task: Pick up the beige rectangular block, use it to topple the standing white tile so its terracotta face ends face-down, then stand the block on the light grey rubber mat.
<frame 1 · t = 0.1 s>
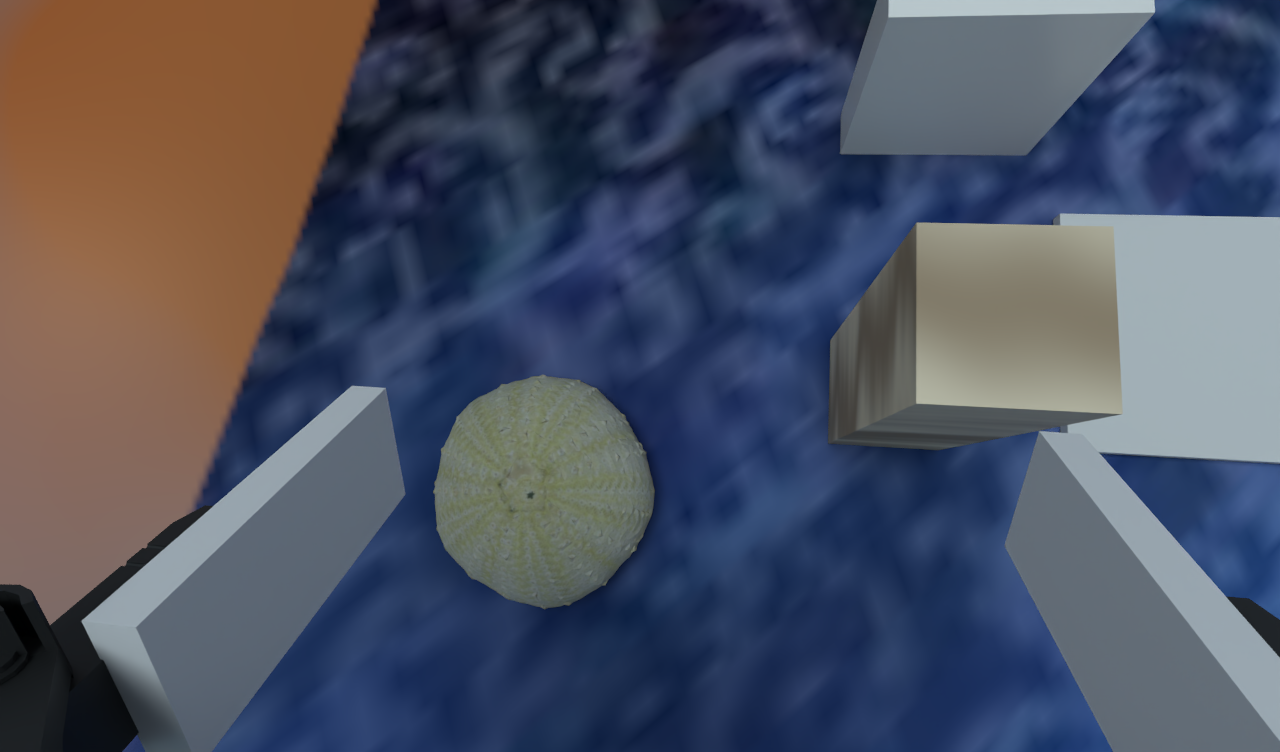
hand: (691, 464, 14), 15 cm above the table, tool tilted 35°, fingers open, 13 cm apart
beige rectangular block: (883, 393, 29), on the table
sea urchin shell: (555, 489, 30), on the table
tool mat: (1187, 336, 28), on the table
tile: (931, 134, 30), on the table
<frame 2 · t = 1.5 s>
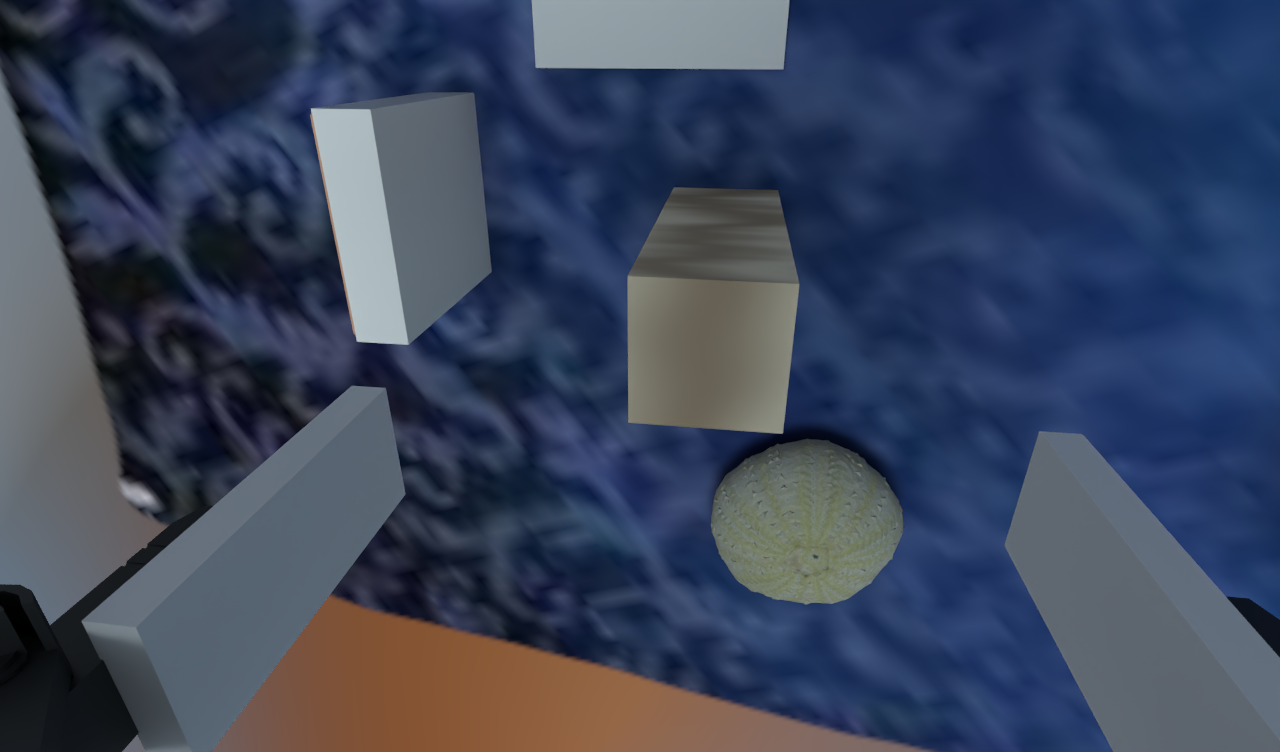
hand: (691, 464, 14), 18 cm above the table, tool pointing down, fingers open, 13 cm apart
beige rectangular block: (722, 239, 30), on the table
sea urchin shell: (801, 498, 36), on the table
tile: (462, 186, 31), on the table
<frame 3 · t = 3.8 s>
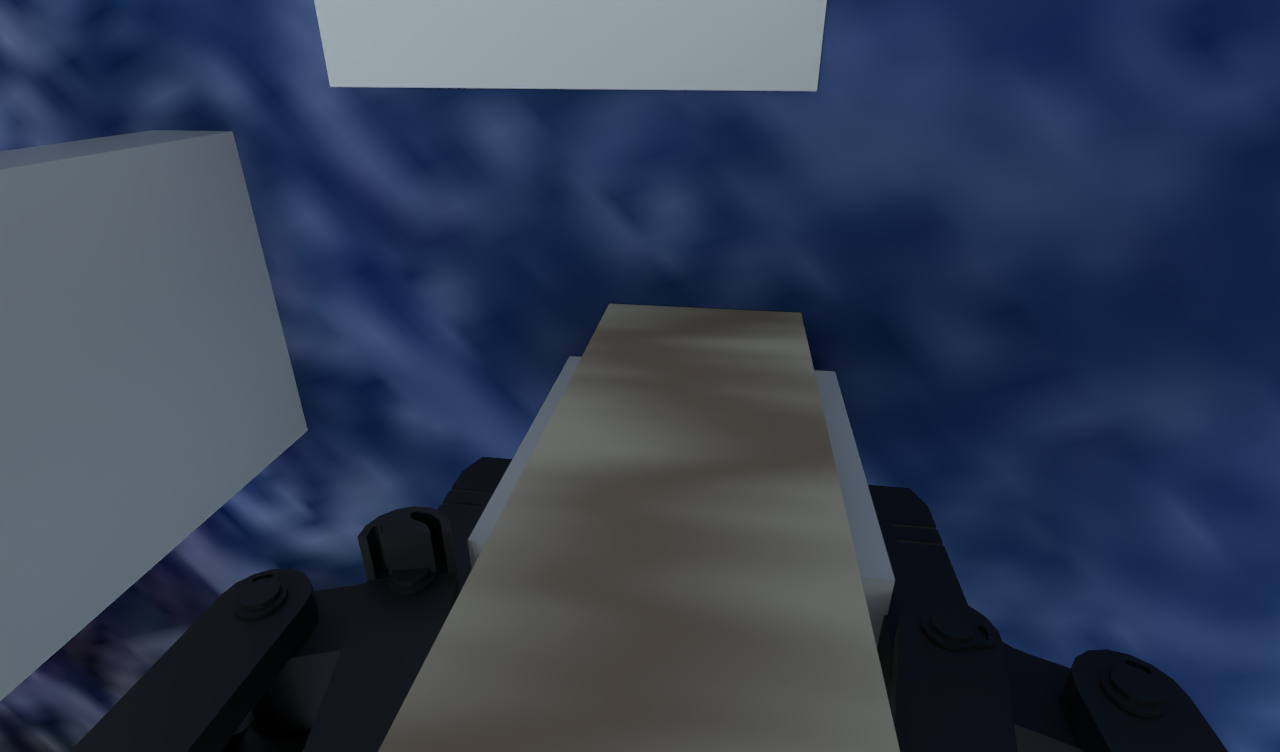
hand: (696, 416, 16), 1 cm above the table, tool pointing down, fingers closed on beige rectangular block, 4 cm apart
beige rectangular block: (699, 392, 17), on the table, touching gripper
tile: (238, 294, 17), on the table
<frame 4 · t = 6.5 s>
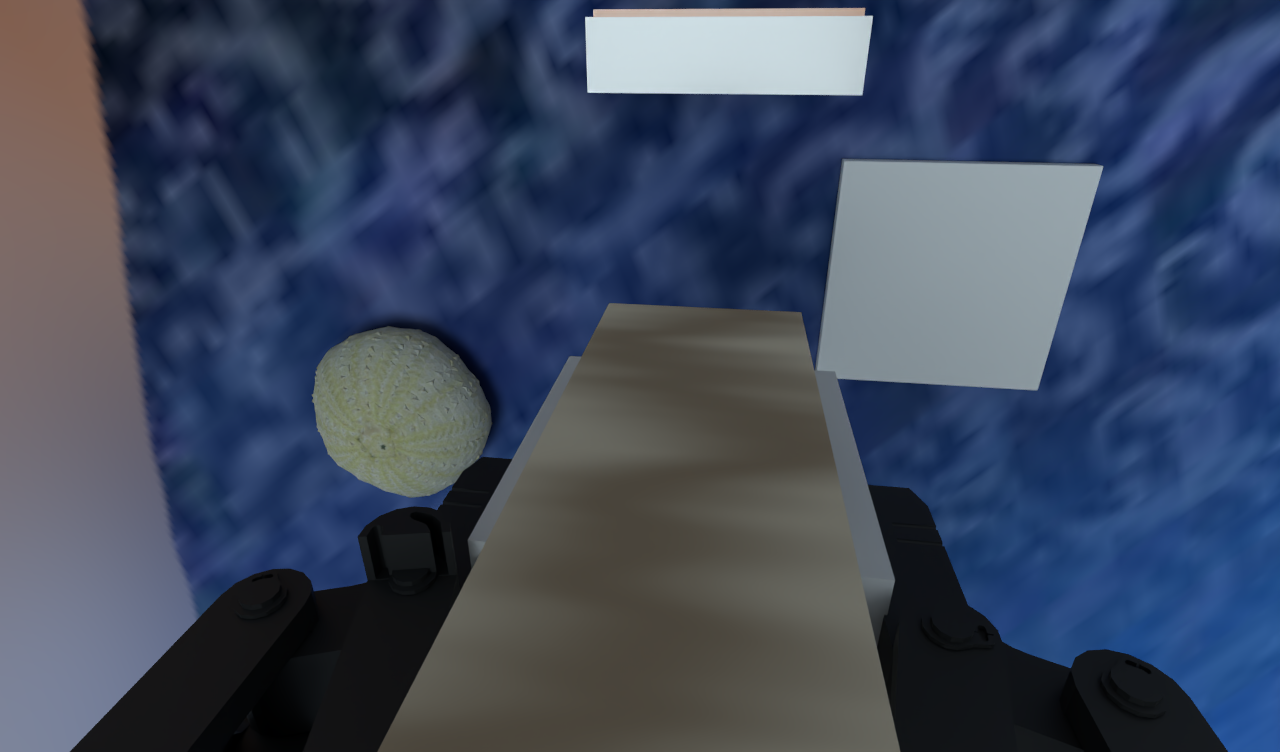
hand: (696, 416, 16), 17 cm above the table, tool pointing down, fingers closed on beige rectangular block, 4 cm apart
beige rectangular block: (699, 392, 17), point 15 cm above the table, touching gripper
sea urchin shell: (419, 395, 37), on the table
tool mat: (942, 277, 30), on the table
tile: (728, 53, 27), on the table
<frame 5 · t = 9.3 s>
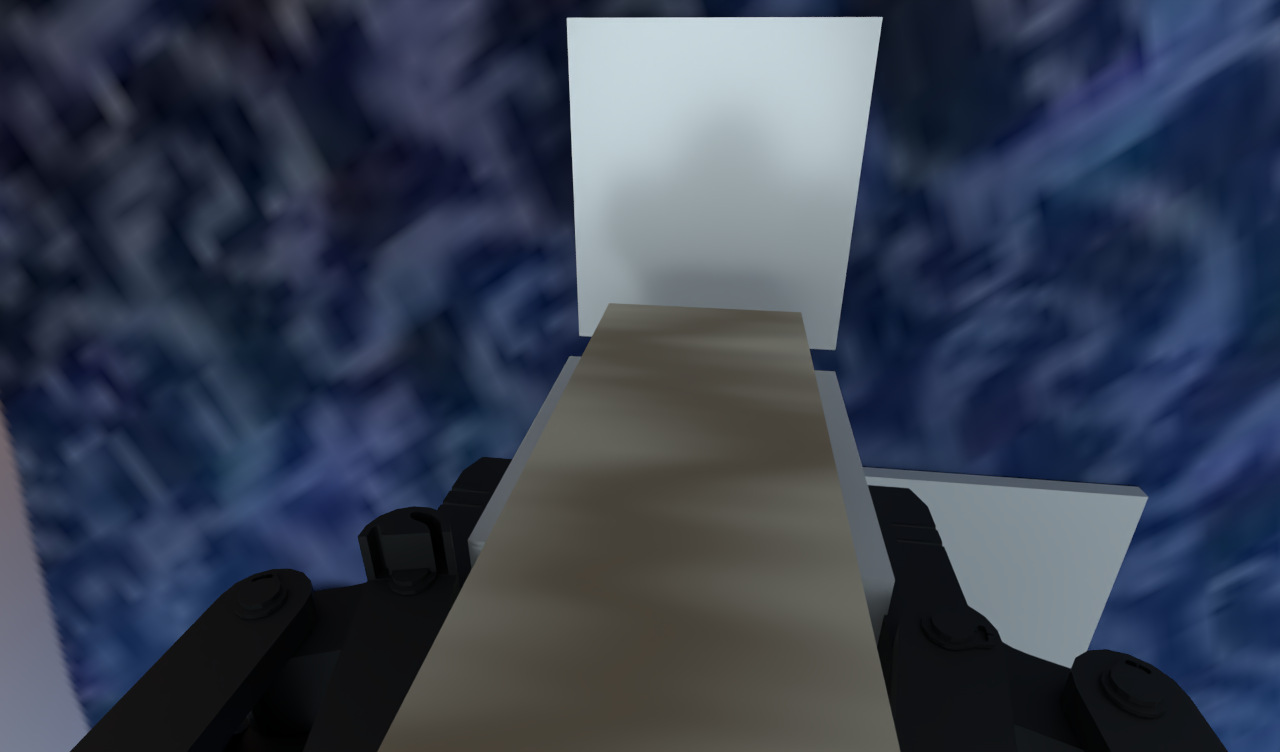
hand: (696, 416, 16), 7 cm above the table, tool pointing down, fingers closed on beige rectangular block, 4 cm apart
beige rectangular block: (699, 392, 17), point 6 cm above the table, touching gripper
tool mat: (956, 584, 26), on the table
tile: (705, 330, 22), point 1 cm above the table, tilted 90°
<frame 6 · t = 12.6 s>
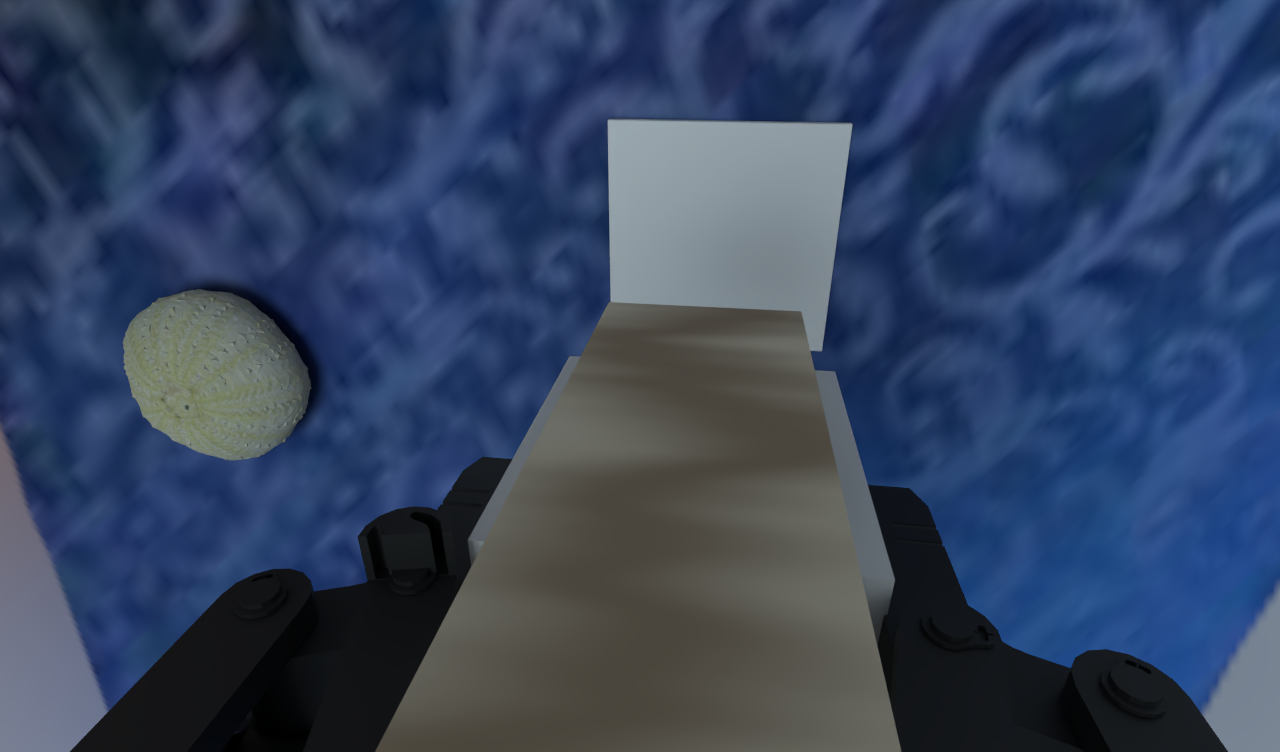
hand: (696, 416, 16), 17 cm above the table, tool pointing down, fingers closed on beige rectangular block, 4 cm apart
beige rectangular block: (699, 391, 17), point 15 cm above the table, touching gripper
sea urchin shell: (246, 360, 37), on the table
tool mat: (720, 238, 30), on the table
when the fingers open (3 cm above the table, at t = 15.3 s): beige rectangular block drops 1 cm, resting on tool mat.
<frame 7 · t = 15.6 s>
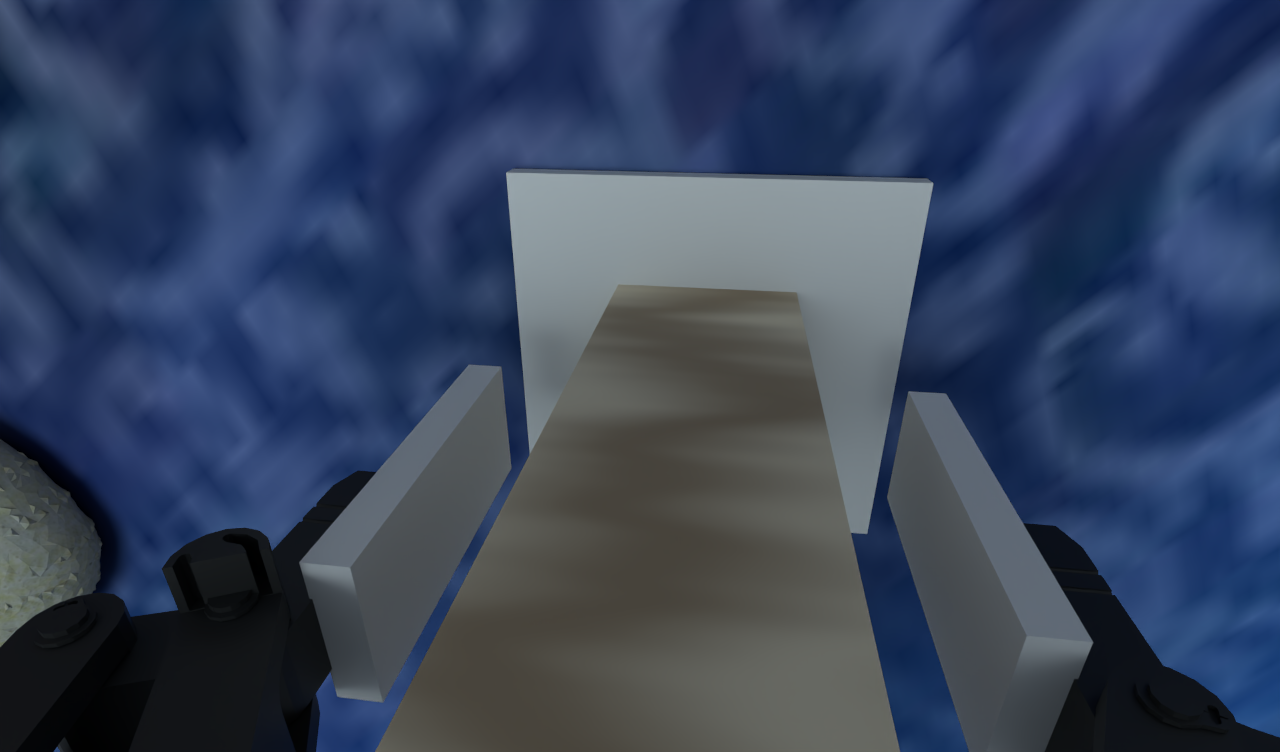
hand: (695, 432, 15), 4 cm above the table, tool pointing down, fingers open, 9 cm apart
beige rectangular block: (702, 368, 18), point 1 cm above the table, touching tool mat
sea urchin shell: (15, 508, 25), on the table
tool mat: (703, 360, 19), on the table
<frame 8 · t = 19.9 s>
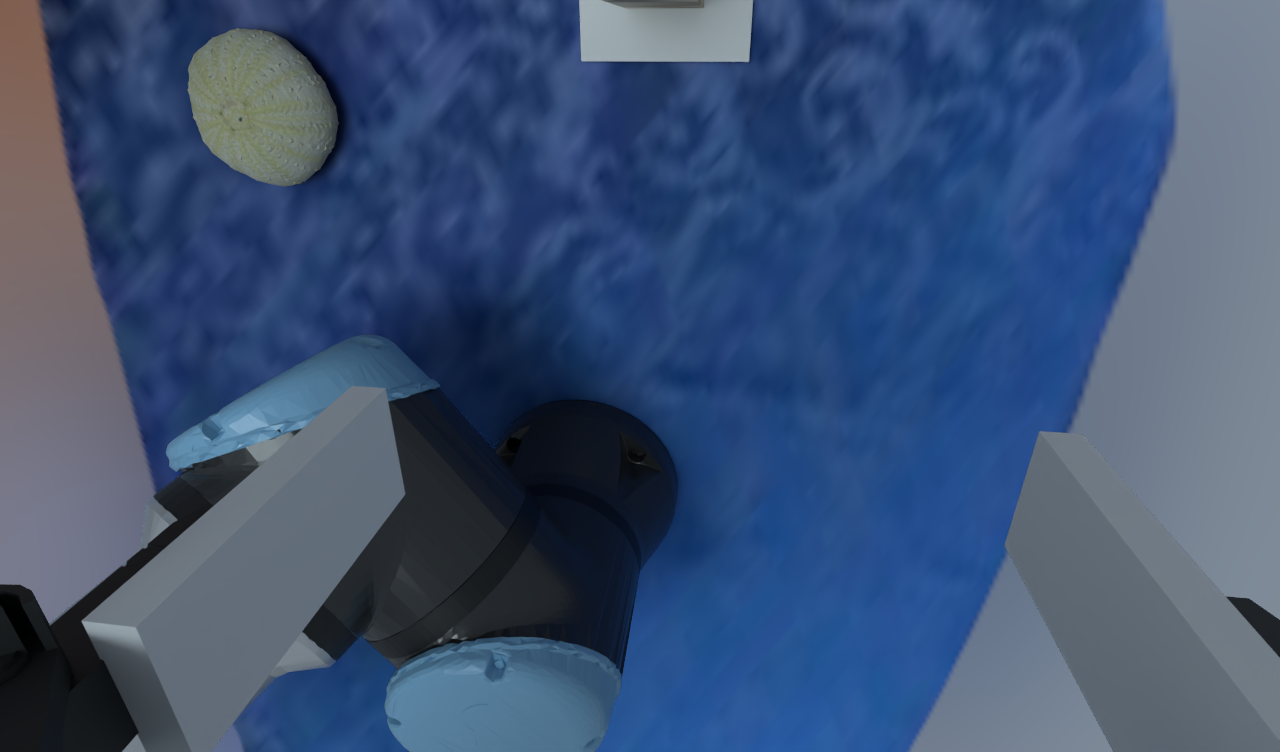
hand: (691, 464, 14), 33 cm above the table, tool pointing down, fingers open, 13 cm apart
sea urchin shell: (284, 108, 45), on the table
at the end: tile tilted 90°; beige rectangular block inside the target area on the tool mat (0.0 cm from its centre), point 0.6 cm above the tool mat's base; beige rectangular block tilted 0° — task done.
